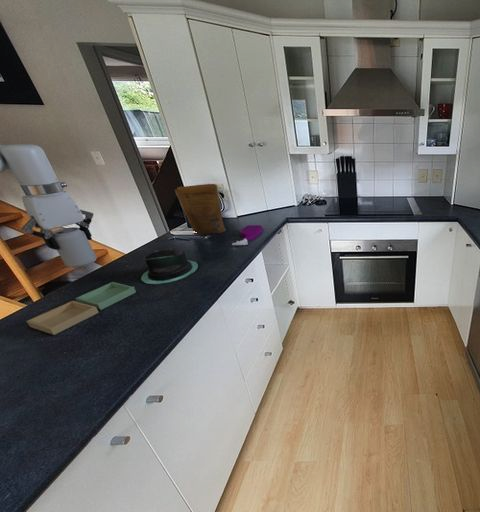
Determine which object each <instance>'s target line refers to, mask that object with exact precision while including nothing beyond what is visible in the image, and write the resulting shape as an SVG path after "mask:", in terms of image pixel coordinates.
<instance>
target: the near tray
mask: <svg viewBox="0 0 480 512" xmlns="http://www.w3.org/2000/svg"><path fill="white" fill-rule="evenodd" d="M97 314H100V312H99V309H97V308H96V307H94V306H91V305H87V304H84V303H80V302H77V300H71V301H69V302H66V303H65V304H62V305H60V306H58V307H55V308H53V309H50V310H48V311H46V312H44V313H41V314H39V315H37V316H34V317H32V318H30V319H27V320H26V323H27V324H28V326H29V327H30V328H33V329H35V330H38V331H41V332H44V333H47V334H50V335H52V336H55V335H57V334H59V333H62V332H63V331H66V330H67V329H69V328H71V327H73V326H76V325H78V324H79V323H81V322H84V321H85V320H88V319H89V318H91V317H93V316H95V315H97Z"/></svg>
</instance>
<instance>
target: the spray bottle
mask: <svg viewBox="0 0 480 512" xmlns="http://www.w3.org/2000/svg"><path fill="white" fill-rule="evenodd" d="M263 229H264V227H263V226H262V225H261V224H259V225H258V224H251V225H250V224H249V225H246V226H244V228H242V229H241V231H239V236H240V237H242V238H241V240H236V241H235V242H233V243H231V245H232V246H247V245H248V246H249V243H248V242H250V241H252V240H254V239H256V238H258V236H260V235H261V234H262V232H263Z"/></svg>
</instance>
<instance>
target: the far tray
mask: <svg viewBox="0 0 480 512" xmlns="http://www.w3.org/2000/svg"><path fill="white" fill-rule="evenodd" d="M135 293H137V291H136V288H135V286H131V285H126V284H123V283H119V282H114V281H111V282H109V283H107V284H105V285H102V286H100V287H98V288H96V289H95V288H94V289H93V290H90V291H89V292H86V293H84V294H82V295H79V296H78V297H75V301H76V302H80V303H84V304H87V305H91V306H94V307H96V308H97V310H98V311H102V310H103V309H106V308H108V307H110V306H112V305H114V304H116V303H118V302H120V301H122V300H123V299H126V298H128V297H130V296H132V295H134V294H135Z"/></svg>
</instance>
